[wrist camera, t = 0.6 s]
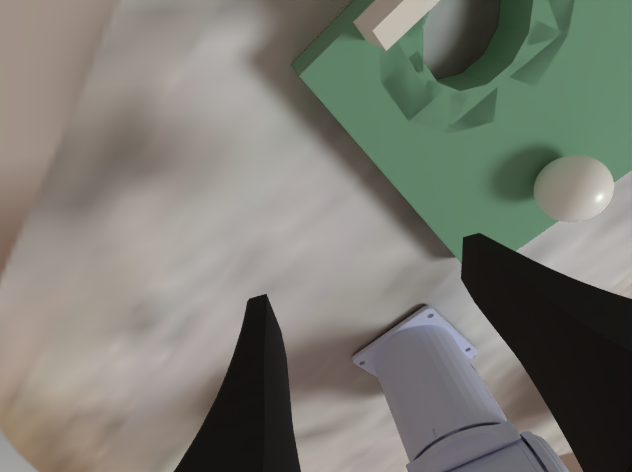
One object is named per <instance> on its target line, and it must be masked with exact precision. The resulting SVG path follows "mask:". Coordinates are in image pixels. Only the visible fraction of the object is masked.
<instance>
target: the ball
mask: <svg viewBox="0 0 632 472" xmlns="http://www.w3.org/2000/svg"><path fill="white" fill-rule="evenodd" d="M613 192H614V181H613V177H612V175H611V173H610V171H609V170H608V168H607V167H606V166H605V165H604V164H603V163H601V162H600V161H598V160H596V159H594V158H592V157H588V156H584V155H569V156H564V157H561V158H558V159H556V160H554V161H552V162H550V163H549V164H548V165H546V166H545V167H544V168H543V169H542V170H541V172H540V173H539V174H538V176H537V178H536V180H535V184H534V198H535V201H536V203H537V205H538V207H539V208H540V209H541V211H543V212H544V213H545V214H546V215H548V216H549V217H551V218H553V219H555V220H559V221H563V222H579V221H584V220H587V219H590V218H592V217H594V216H596V215H597V214H599V213H600V212H601V211H602V210H603V209H605V207H606V206H607V205H608V204H609V202H610V200H611V198H612V196H613Z"/></svg>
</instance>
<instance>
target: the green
mask: <svg viewBox="0 0 632 472" xmlns="http://www.w3.org/2000/svg"><path fill="white" fill-rule="evenodd" d="M439 1H440V0H354V1H353V2H352V3H351V4H350V5H349V6H348V7H347V8H346V9H345V10H344V11H343V12H342V13H341V14H340V15H339V16H338V17H337V18H336V19H335V20H334V21H333V22H332V23H331V24H330V25H329V26H328V27H327V28H326V29H325V30H324V31H323V32H322V33H321V34H320V35H319V36H318V37H317V38H316V39H315V40H314V41H313V42H312V44H311V45H310V46H309V47H308V48H307V49H306V50H305V51H304V52H303V53H302V54H301V55H300V56H299V57H298V58H297V59H296V60H295V61H294V62H293V63H292V64H291V65H292V67H293V68H294V69H295V71H296V72H297V74H298V75H299V77H300V78H301V79H302V80H303V81H304V82H305V83H306V85H307V86H308V87H309V88H310V89H311V90H312V92H313V93H314V94H315V95H316V96H317V97H318V98H319V100H320V101H321V102H322V103H323V104H324V105H325V107H326V108H327V109H328V110H329V111H330V112H331V113H332V115H333V116H334V117H335V118H336V119H337V120H338V122H339V123H340V124H341V125H342V126H343V127H344V129H345V130H346V131H347V132H348V133H349V134H350V135H351V137H352V138H353V139H354V140H355V141H356V142H357V144H358V145H359V146H360V147H361V148H362V149H363V150H364V152H365V153H366V154H367V155H368V156H369V157H370V159H371V160H372V161H373V162H374V163H375V164H376V165H377V167H378V168H379V169H380V170H381V171H382V172H383V174H384V175H385V176H386V177H387V178H388V179H389V180H390V182H391V183H392V184H393V185H394V186H395V187H396V189H397V190H398V191H399V192H400V193H401V194H402V196H403V197H404V198H405V199H406V200H407V201H408V202H409V204H410V205H411V206H412V207H413V208H414V209H415V211H416V212H417V213H418V214H419V215H420V216H421V217H422V219H423V220H424V221H425V222H426V223H427V224H428V226H429V227H430V228H431V229H432V230H433V231H434V232H435V234H436V235H437V236H438V237H439V238H440V239H441V241H442V242H443V243H444V244H445V245H446V246H447V247H448V249H449V250H450V251H451V252H452V253H453V254H454V256H455V257H456V258H457V259H458V260H459V261H460V263H461V264H462V246H463V237H466V236H469V235H473V234H476V233H481V234H483V235H485V236H487V237H489V238H491V239H493V240H495V241H496V242H498V243H500V244H502V245H504V246H506V247H508V248H510V249H512V250H514V251H516V250H518V249H519V248H521V247H522V246H523V245H525V244H526V243H528V242H529V241H531V240H532V239H533V238H535V237H536V236H538V235H539V234H541V233H542V232H544V231H545V230H546V229H548V228H549V227H551V226H552V225H554V224H555V223H556V222H558V221H559V220H555V219H553V218H551V217H549V216H548V215H546V214H545V213H544V212H543V211H541V209H540V208H539V207H538V205H537V203H536V201H535V198H534V184H535V180H536V178H537V176H538V174H539V173H540V172H541V170H542V169H543V168H544V167H545V166H546V165H548V164H549V163H550V162H552V161H554V160H556V159H558V158H561V157H564V156H569V155H584V156H588V157H592V158H594V159H596V160H598V161H600V162H601V163H603V164H604V165H605V166H606V167H607V168H608V170H609V171H610V173H611V175H612V177H613V181H614V182H615V181H617V180H618V179H620V178H621V177H623V176H624V175H625V174H627V173H628V172H630V171H631V170H632V0H500V11H499V22H498V27H497V29H496V31H495V33H494V35H493V37H492V39H491V41H490V43H489V45H488V47H487V49H486V50H485V52H484V54H483V55H482V56H481V57H480V58H479V59H477V60H476V61H475V62H474V63H473V64H472V65H470V66H469V67H468V68H467V69H466V70H465V71H464V72H462V73H460V74H456V75H452V76H448V77H444V78H441V79H436V78H434V76H433V75H432V73H431V72H430V70H429V68H428V67H427V65H426V63H425V62H424V60H423V25H424V22H425V20H426V18H427V15H428V13H429V11H430V9H431V8H433V7H434V6H435V5H436V4H437V3H438V2H439Z"/></svg>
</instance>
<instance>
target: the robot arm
mask: <svg viewBox="0 0 632 472" xmlns="http://www.w3.org/2000/svg"><path fill="white" fill-rule="evenodd" d="M461 279H462V281H463V283H464V285H465V287H466V288H467V290H468V292H469V294H470V295H471V297H472V298H473V300H474V302H475V303H476V305H477V306H478V307H479V309H480V310H481V311H482V313H483V314H484V315H485V316H486V318H487V319H488V320H489V322H490V323H491V324H492V325H493V327H494V328H495V329H496V331H497V332H498V333H499V334H500V336H501V337H502V338H503V340H504V341H505V342H506V343H507V345H508V346H509V347H510V349H511V350H512V351H513V352H514V354H515V355H516V357H517V358H518V359H519V361H520V362H521V364H522V365H523V367H524V368H525V370H526V372H527V373H528V375H529V376H530V378H531V380H532V381H533V383H534V384H535V386H536V387H537V389H538V391H539V393H540V394H541V396H542V398H543V399H544V401H545V403H546V404H547V406H548V408H549V409H550V411H551V413H552V414H553V416H554V418H555V420H556V422H557V423H558V425H559V427H560V429H561V430H562V432H563V434H564V436H565V438H566V439H567V441H568V443H569V445H570V447H571V449H572V451H573V453H574V454H575V456H576V458H577V460H578V462H579V464H580V466H581V468H582V470H583V472H632V299H630V298H627V297H623V296H620V295H617V294H614V293H611V292H608V291H605V290H602V289H599V288H597V287H594V286H591V285H588V284H586V283H583V282H580V281H578V280H575V279H573V278H570V277H568V276H566V275H564V274H561V273H559V272H557V271H554V270H552V269H550V268H548V267H546V266H544V265H541V264H539V263H537V262H535V261H533V260H531V259H529V258H527V257H525V256H523V255H521V254H519V253H517V252H515V251H514V250H512V249H510V248H508V247H506V246H504V245H502V244H500V243H498V242H496V241H495V240H493V239H491V238H489V237H487V236H485V235H483V234H481V233H476V234H473V235H469V236H466V237H463V246H462V270H461ZM477 353H478V351H477V349H476V348H475V347H474V346H473V345H472V344H471V343H470V342H469V341H468V340H466V339H465V338H464V337H463V336H462V335H461V334H460V333H459V332H458V331H457V330H456V329H455V328H453V327H452V326H451V325H450V324H449V323H448V322H447V321H446V320H445V319H444V318H443V317H442V316H440V315H439V314H438V313H437V312H436V311H435V310H434V309H433V308H432V307H431V306H424V307H422V308H421V309H419V310H418V311H416V312H415V313H414V314H412V315H411V316H409V317H408V318H406V319H405V320H404V321H402V322H401V323H399V324H398V325H396V326H395V327H394V328H392V329H391V330H389V331H388V332H387V333H385V334H384V335H382V336H381V337H379V338H378V339H377V340H375V341H374V342H372V343H371V344H369V345H368V346H367V347H365V348H364V349H362V350H361V351H360V352H358V353H357V354H355V355H354V356H353V357H352V361H353V363H354V364H355V365H357V366H358V367H360V368H362V369H363V370H365V371H367V372H368V373H370V374H371V375H373V376H375V377H376V378H378V379H379V382H380V384H381V387H382V390H383V392H384V395H385V398H386V400H387V403H388V406H389V408H390V411H391V413H392V416H393V419H394V421H395V424H396V427H397V429H398V432H399V435H400V437H401V440H402V443H403V445H404V448H405V451H406V453H407V456H408V458H409V461H410V463H408V464H407V465H406V467H407V470H408V472H569V471H568V469H567V468H566V467H565V465H564V464H563V462H562V461H561V459H560V458H559V457H558V455H557V454H556V453H555V451H554V450H553V449H552V448H551V447H550V445H549V444H548V443H547V442H546V441H545V440H544V439H543V438H541V437H539V436H537V435H534V434H532V433H531V432H529V431H525V432H523V433H521V434H520V435H519V434H518V432H517V430H516V429H515V427H514V426H513V424H512V422H511V421H507V419H506V417H505V415H504V413H503V411H502V410H501V408H500V406H499V405H498V403H497V402H496V400H495V399H494V397H493V395H492V394H491V392H490V391H489V389H488V387H487V386H486V384H485V383H484V381H483V379H482V378H481V376H480V375H479V373H478V371H477V370H476V368H475V367H474V365H473V364H472V362H471V360H470V359H471V358H472V357H474V356H475V355H476V354H477ZM174 472H301V470H300V464H299V459H298V453H297V448H296V442H295V437H294V431H293V423H292V414H291V402H290V391H289V379H288V368H287V358H286V353H285V347H284V343H283V338H282V333H281V330H280V327H279V325H278V322H277V319H276V317H275V314H274V312H273V309H272V307H271V304H270V302H269V299H268V297H267V294H264V295H261V296H257V297H254V298H250V299H249V300H248V302H247V306H246V312H245V316H244V320H243V324H242V328H241V332H240V335H239V339H238V342H237V345H236V348H235V351H234V354H233V357H232V360H231V363H230V365H229V368H228V371H227V373H226V376H225V378H224V381H223V383H222V386H221V388H220V390H219V392H218V395H217V397H216V399H215V401H214V403H213V405H212V407H211V409H210V411H209V413H208V415H207V417H206V419H205V421H204V423H203V425H202V426H201V428H200V430H199V432H198V434H197V435H196V437H195V439H194V440H193V442H192V444H191V445H190V447H189V448H188V450H187V452H186V453H185V455H184V457H183V458H182V460H181V461H180V463H179V465H178V466H177V468H176V469H175V471H174Z"/></svg>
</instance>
